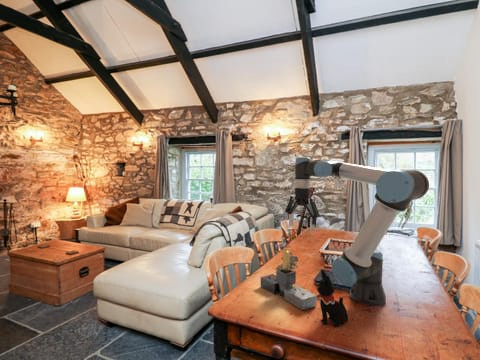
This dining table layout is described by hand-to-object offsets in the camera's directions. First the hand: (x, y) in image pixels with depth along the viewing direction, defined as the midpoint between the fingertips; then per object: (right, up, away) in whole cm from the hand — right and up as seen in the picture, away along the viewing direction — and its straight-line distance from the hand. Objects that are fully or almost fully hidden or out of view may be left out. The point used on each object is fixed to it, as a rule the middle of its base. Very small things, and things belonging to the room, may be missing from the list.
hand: (301, 228), depth 147 cm
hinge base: (-13, -29, -8) cm, 33 cm away
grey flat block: (-5, -30, -20) cm, 36 cm away
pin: (-10, -23, -12) cm, 28 cm away
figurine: (+5, -31, -36) cm, 47 cm away
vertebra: (-2, -28, +25) cm, 37 cm away
